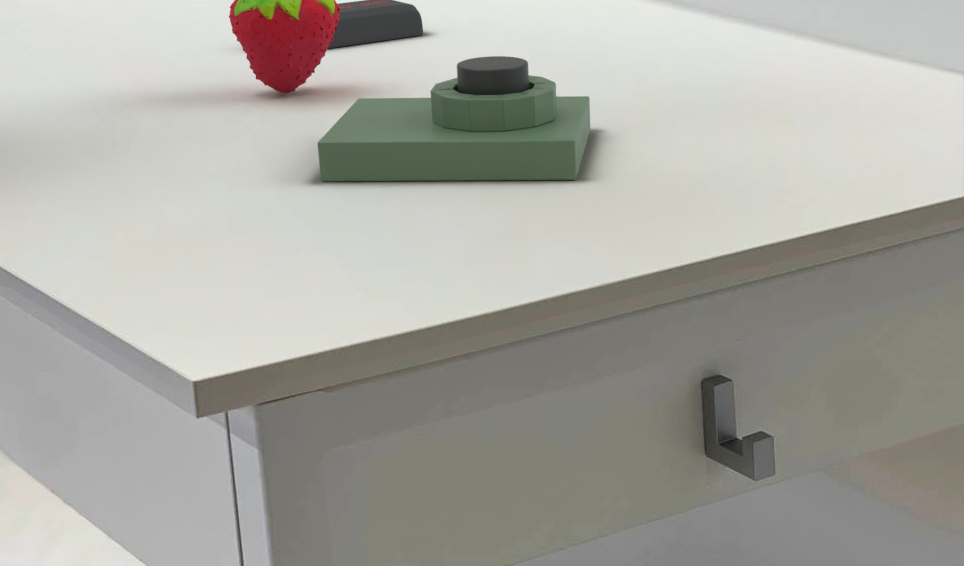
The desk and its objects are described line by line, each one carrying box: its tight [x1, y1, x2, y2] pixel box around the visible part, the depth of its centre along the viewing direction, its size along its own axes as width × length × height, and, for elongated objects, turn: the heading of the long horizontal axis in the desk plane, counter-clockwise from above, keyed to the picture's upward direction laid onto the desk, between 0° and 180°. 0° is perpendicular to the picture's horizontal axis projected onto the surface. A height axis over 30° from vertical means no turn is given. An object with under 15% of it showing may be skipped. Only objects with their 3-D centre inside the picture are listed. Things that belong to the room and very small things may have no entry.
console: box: [317, 75, 591, 182], centre depth 92 cm, size 14×11×4 cm
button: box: [456, 55, 529, 95], centre depth 91 cm, size 4×4×2 cm
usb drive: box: [328, 0, 424, 49], centre depth 128 cm, size 5×12×3 cm, turn 127°
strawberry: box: [228, 0, 340, 94], centre depth 108 cm, size 6×7×10 cm
